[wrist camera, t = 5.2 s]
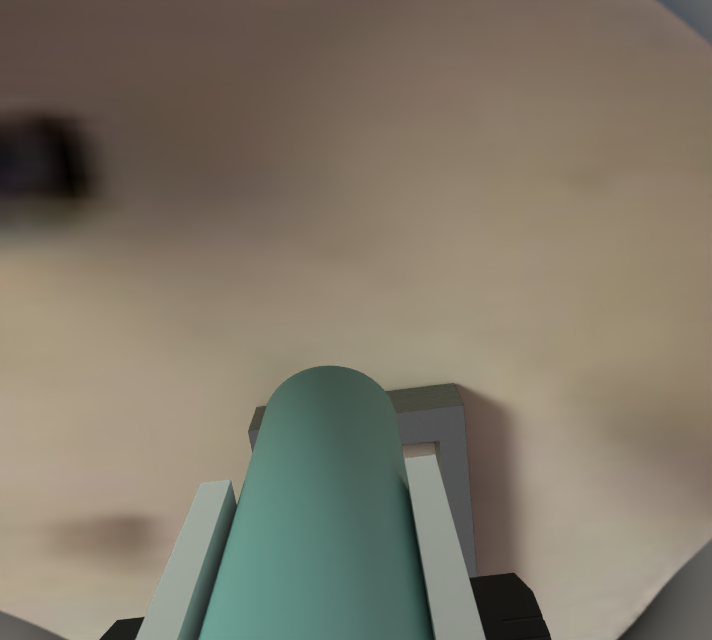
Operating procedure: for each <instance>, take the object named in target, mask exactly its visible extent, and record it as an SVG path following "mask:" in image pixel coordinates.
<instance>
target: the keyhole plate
mask: <svg viewBox="0 0 712 640" xmlns="http://www.w3.org/2000/svg"><path fill="white" fill-rule="evenodd" d="M385 392H386V393H387V395H388V396H389V398H390V400H391V402H392V404H393V406H394V409H395V412H396V417H397V423H398V428H399V434H400V440H401V445H407V444H416V443H424V442H433V441H435V450H436V460H437V463H438V467H439V471H440V474H441V478H442V482H443V485H444V489H445V493H446V496H447V500H448V504H449V507H450V511H451V514H452V518H453V522H454V525H455V529H456V533H457V536H458V540H459V544H460V547H461V551H462V555H463V558H464V562H465V566H466V569H467V573H468V577H469V578H473V577H477V568H476V556H475V543H474V530H473V518H472V505H471V492H470V480H469V467H468V455H467V442H466V429H465V417H464V405H463V403H462V400H461V398H460V396H459V393H458V391H457V389H456V386H455V384H454V383H450V384H442V385H434V386H426V387H417V388H409V389H401V390H393V391H385ZM266 407H267V406H261V407H256V410H255V413H254V416H253V419H252V422H251V424H250V427H249V430H248V433H249V438H250V443H251V448H252V452H253V450H254V447H255V443H256V440H257V436H258V433H259V430H260V426H261V423H262V419H263V416H264V413H265V410H266Z"/></svg>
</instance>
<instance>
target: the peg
mask: <svg viewBox="0 0 712 640" xmlns="http://www.w3.org/2000/svg"><path fill="white" fill-rule="evenodd" d="M198 640H434V638H433V632H432V626H431V620H430V615H429V609H428V603H427V597H426V591H425V585H424V580H423V574H422V568H421V562H420V556H419V550H418V544H417V539H416V533H415V527H414V521H413V515H412V509H411V504H410V498H409V492H408V484H407V475H406V468H405V463H404V457H403V451H402V445H401V440H400V434H399V428H398V423H397V417H396V412H395V409H394V406H393V404H392V402H391V400H390V398H389V396H388V395H387V393H386V392H385V391H384V389H383V388H382V387H381V386H380V385H379V384H378V383H376V382H375V381H374V380H373V379H371V378H370V377H368V376H367V375H365V374H363V373H361V372H358V371H356V370H353V369H350V368H346V367H340V366H319V367H314V368H310V369H307V370H303V371H301V372H299V373H297V374H295V375H293V376H292V377H290V378H288V379H287V380H286V381H285V382H283V383H282V384H281V385H280V386H279V387H278V388H277V389H276V391H275V392H274V393H273V395H272V396H271V398H270V400H269V402H268V404H267V407H266V410H265V413H264V416H263V419H262V423H261V426H260V430H259V433H258V436H257V440H256V443H255V447H254V450H253V453H252V457H251V460H250V464H249V467H248V470H247V474H246V477H245V481H244V484H243V487H242V491H241V494H240V498H239V501H238V504H237V508H236V511H235V515H234V518H233V521H232V525H231V528H230V532H229V535H228V538H227V542H226V545H225V549H224V552H223V555H222V559H221V562H220V566H219V569H218V572H217V576H216V579H215V583H214V586H213V589H212V593H211V596H210V600H209V603H208V606H207V610H206V613H205V617H204V620H203V623H202V627H201V630H200V634H199V637H198Z"/></svg>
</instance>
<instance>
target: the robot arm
mask: <svg viewBox="0 0 712 640" xmlns="http://www.w3.org/2000/svg"><path fill="white" fill-rule="evenodd" d="M405 467H406V475H407V484H408V492H409V498H410V504H411V509H412V515H413V521H414V527H415V533H416V539H417V544H418V550H419V556H420V562H421V568H422V574H423V580H424V585H425V591H426V597H427V603H428V609H429V615H430V620H431V626H432V632H433V638H434V640H551V637H550V633H549V630H548V628H547V626H546V623H545V621H544V620H543V617H542V613H541V611H540V608H539V606H538V603H537V601H536V598H535V596H534V593H533V591H532V590H531V589H530V588H529V587H528V586H527V585H526V584H525V583H524V582H523V581H522V580H521V579H520V578H519V577H518V576H517V575H516V574H515V573H507V574H499V575H490V576H481V577H473V578H469V577H468V573H467V569H466V566H465V562H464V558H463V555H462V551H461V547H460V544H459V540H458V536H457V533H456V529H455V525H454V522H453V518H452V514H451V511H450V507H449V504H448V500H447V496H446V493H445V489H444V485H443V482H442V478H441V474H440V471H439V467H438V463H437V460H436V456H435V455H429V456H421V457H412V458H405ZM236 508H237V504H236V500H235V496H234V491H233V487H232V482H231V480H222V481H214V482H206V483H201V484H200V486H199V489H198V491H197V493H196V496H195V498H194V501H193V503H192V505H191V508H190V510H189V513H188V515H187V517H186V520H185V522H184V524H183V527H182V529H181V532H180V534H179V536H178V539H177V541H176V544H175V546H174V548H173V551H172V553H171V556H170V558H169V560H168V563H167V565H166V568H165V570H164V572H163V575H162V577H161V580H160V582H159V584H158V587H157V589H156V592H155V594H154V596H153V599H152V601H151V604H150V606H149V608H148V611H147V613H146V616H145V617H140V618H131V619H123V620H117V621H116V622H115V623H114V624H113V625H112V626H111V627H110V629H109V630H108V631H107V632H106V633H105V634H104V635H103V636H102V637H101V639H100V640H198V637H199V634H200V630H201V627H202V623H203V620H204V617H205V613H206V610H207V606H208V603H209V600H210V596H211V593H212V589H213V586H214V583H215V579H216V576H217V572H218V569H219V566H220V562H221V559H222V555H223V552H224V549H225V545H226V542H227V538H228V535H229V532H230V528H231V525H232V521H233V518H234V515H235V511H236Z"/></svg>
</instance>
